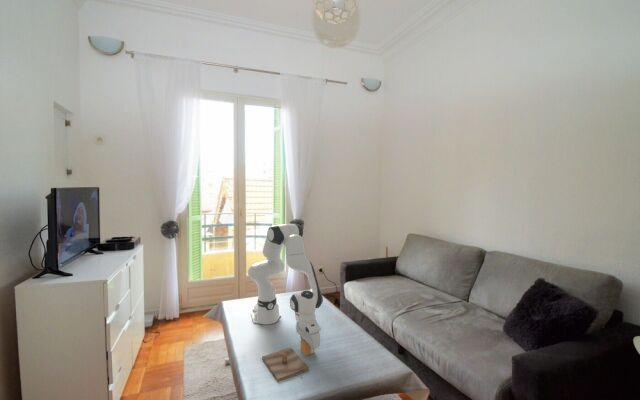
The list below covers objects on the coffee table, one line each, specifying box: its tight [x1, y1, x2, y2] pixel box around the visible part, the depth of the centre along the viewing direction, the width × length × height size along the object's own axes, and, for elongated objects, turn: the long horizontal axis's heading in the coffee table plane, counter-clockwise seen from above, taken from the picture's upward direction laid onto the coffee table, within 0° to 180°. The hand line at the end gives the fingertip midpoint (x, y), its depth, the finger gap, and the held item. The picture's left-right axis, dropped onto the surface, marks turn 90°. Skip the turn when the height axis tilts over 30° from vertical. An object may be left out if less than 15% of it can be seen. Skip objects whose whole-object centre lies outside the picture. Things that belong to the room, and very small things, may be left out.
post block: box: [261, 346, 310, 383], centre depth 147 cm, size 20×16×5 cm
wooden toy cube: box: [300, 339, 312, 356], centre depth 158 cm, size 5×5×6 cm
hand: (307, 347), depth 158 cm, fingers open, 8 cm apart
